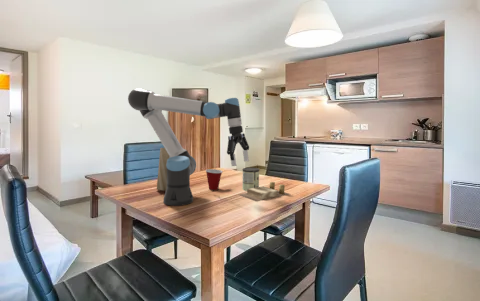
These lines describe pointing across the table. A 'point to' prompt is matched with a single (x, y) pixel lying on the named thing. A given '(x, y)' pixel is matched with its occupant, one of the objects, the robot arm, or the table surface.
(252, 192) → the beige ridged square block
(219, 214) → the table surface
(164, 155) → the tan tall block
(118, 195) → the table surface
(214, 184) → the plastic cup
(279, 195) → the board
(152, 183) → the table surface
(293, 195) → the table surface
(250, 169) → the coffee can
